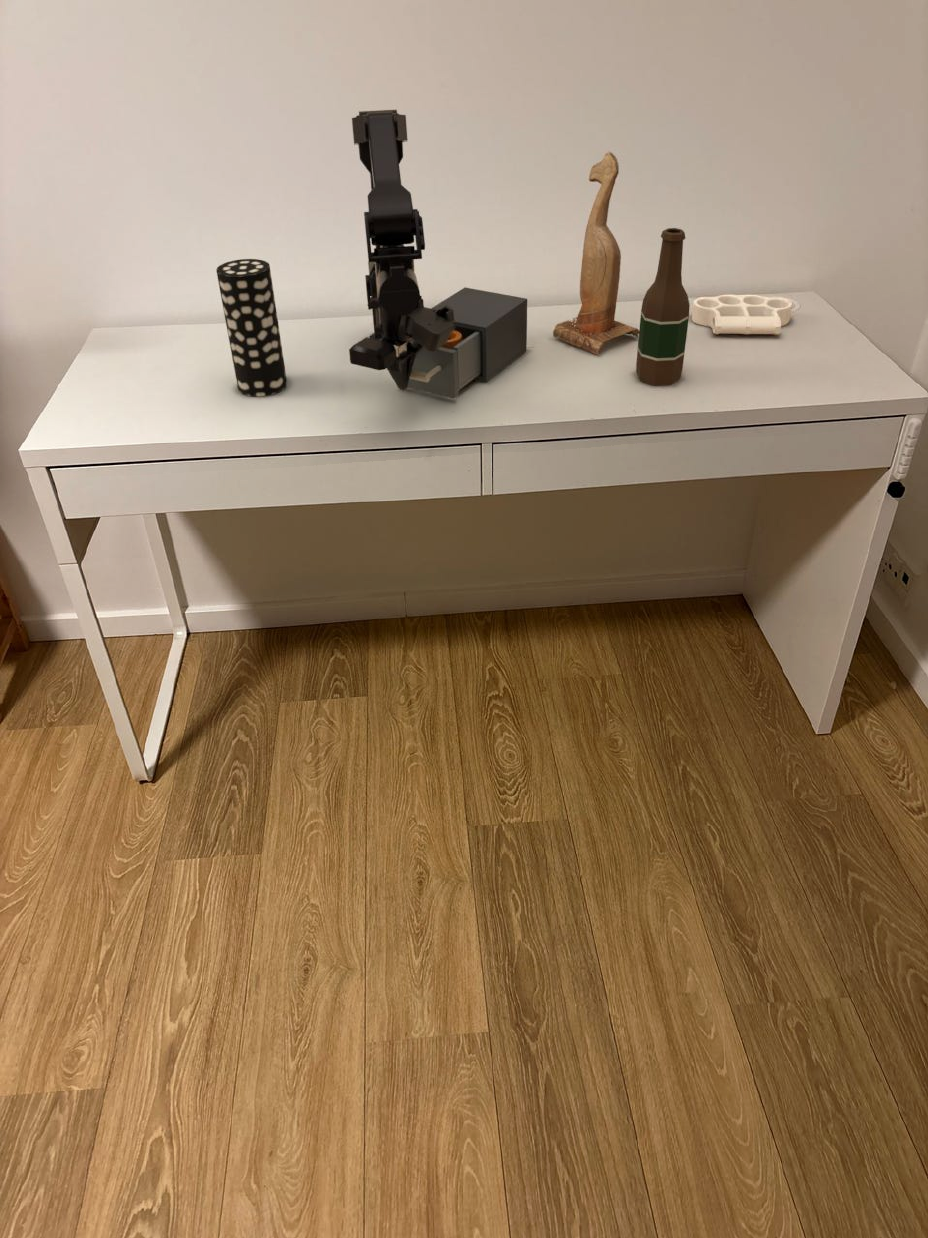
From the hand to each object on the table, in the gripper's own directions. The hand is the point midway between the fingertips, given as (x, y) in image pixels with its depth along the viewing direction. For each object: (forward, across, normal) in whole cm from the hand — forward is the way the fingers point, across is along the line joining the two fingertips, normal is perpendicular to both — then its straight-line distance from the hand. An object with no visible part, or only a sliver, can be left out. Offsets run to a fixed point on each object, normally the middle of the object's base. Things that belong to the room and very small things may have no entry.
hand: (402, 388), depth 153 cm
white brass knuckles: (+4, +60, -36) cm, 70 cm away
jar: (+2, +13, 0) cm, 13 cm away
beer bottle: (+4, +31, -31) cm, 44 cm away
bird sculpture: (+4, +41, -15) cm, 44 cm away
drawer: (+3, +10, 0) cm, 11 cm away
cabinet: (+4, +23, 0) cm, 23 cm away
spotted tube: (+4, -3, +27) cm, 27 cm away
